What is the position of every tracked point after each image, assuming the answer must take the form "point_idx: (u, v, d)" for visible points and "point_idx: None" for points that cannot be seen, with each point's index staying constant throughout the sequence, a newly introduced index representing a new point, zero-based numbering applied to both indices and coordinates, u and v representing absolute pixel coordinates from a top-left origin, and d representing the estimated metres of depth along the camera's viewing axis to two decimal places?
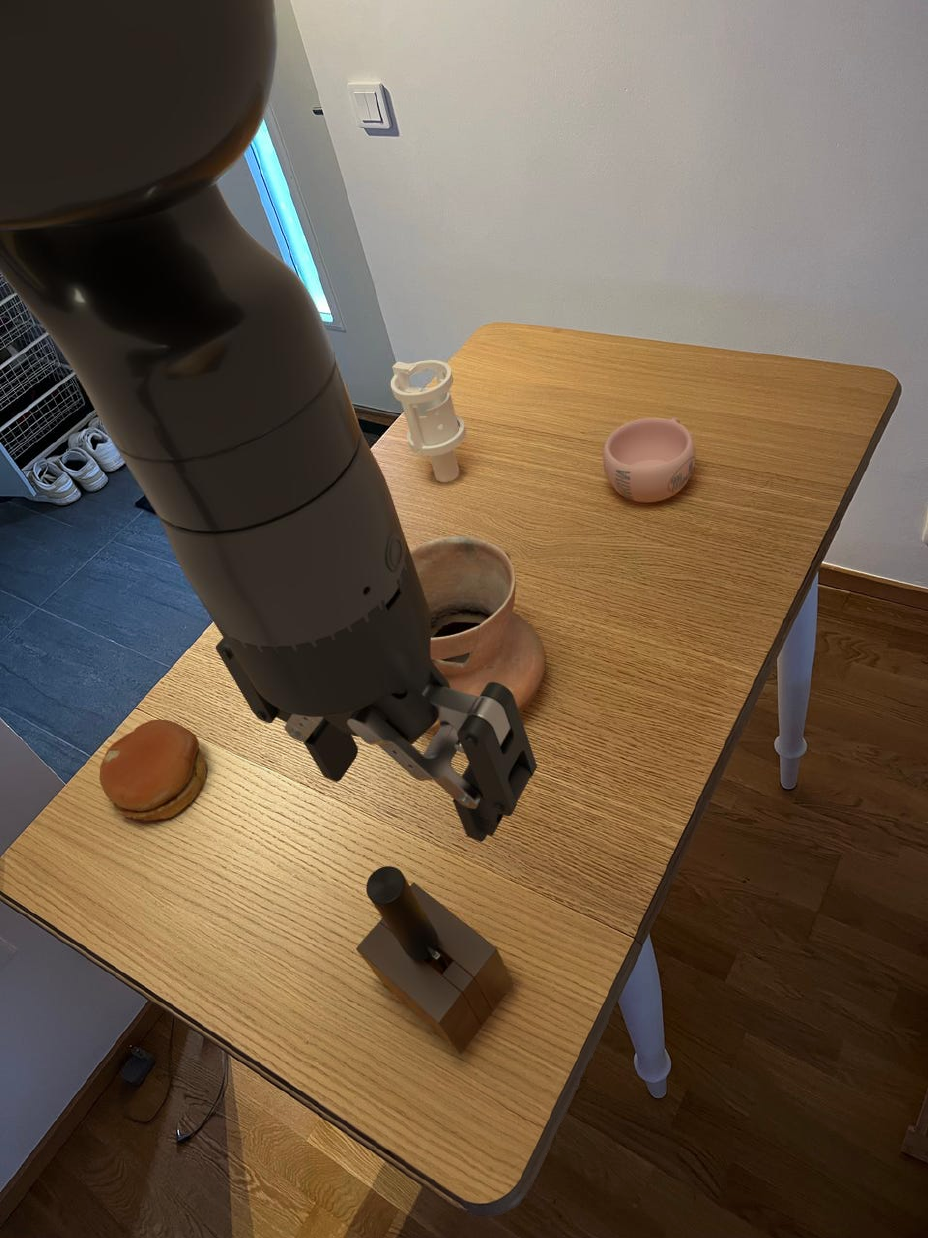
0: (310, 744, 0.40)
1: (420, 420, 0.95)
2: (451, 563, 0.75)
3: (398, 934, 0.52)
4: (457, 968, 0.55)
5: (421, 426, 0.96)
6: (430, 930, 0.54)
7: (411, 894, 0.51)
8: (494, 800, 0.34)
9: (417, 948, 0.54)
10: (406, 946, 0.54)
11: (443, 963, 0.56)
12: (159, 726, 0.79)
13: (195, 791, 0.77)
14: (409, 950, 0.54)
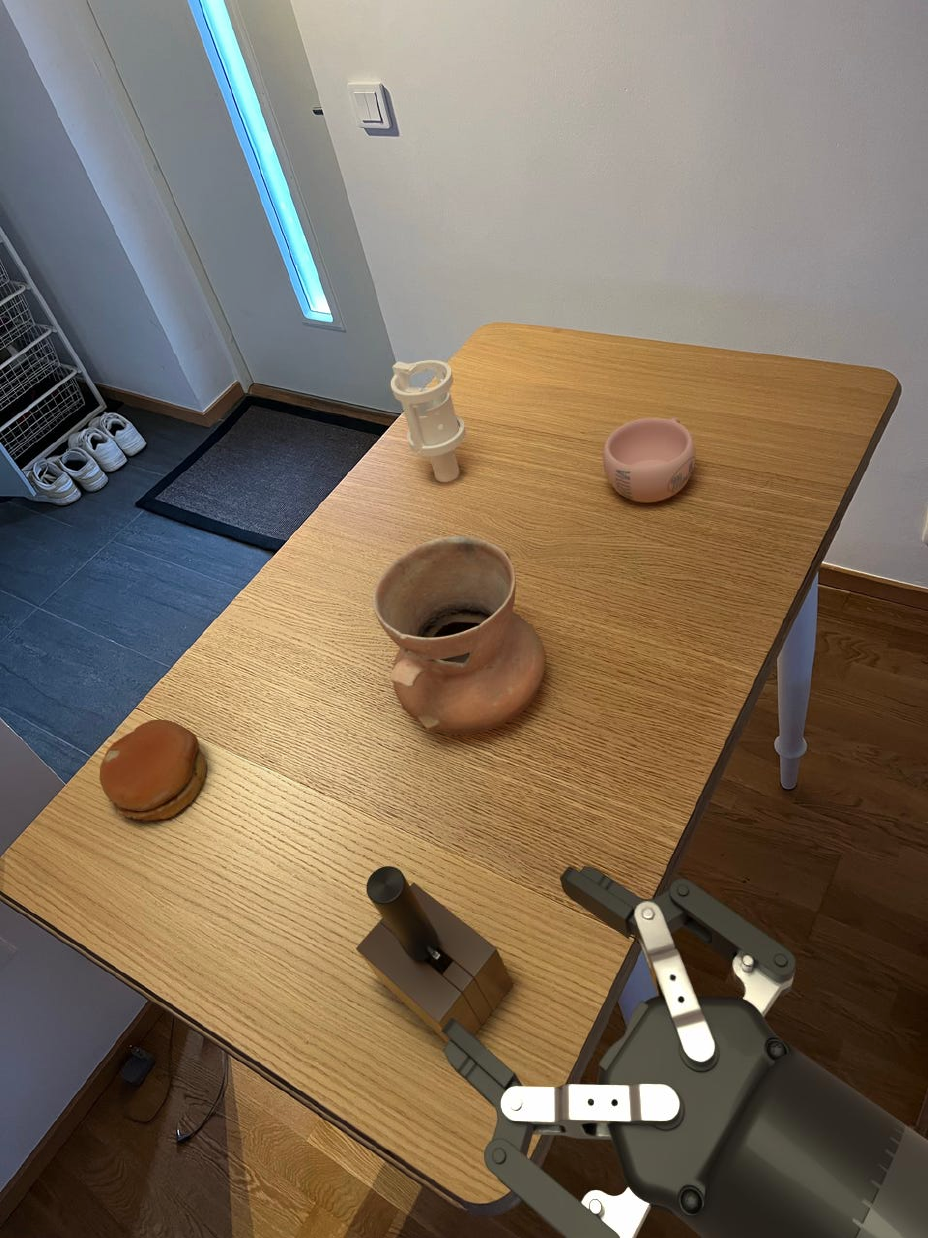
0: (626, 915, 0.37)
1: (420, 420, 0.95)
2: (451, 562, 0.75)
3: (398, 934, 0.52)
4: (457, 968, 0.55)
5: (421, 426, 0.96)
6: (430, 930, 0.54)
7: (411, 894, 0.51)
8: (511, 1163, 0.32)
9: (417, 948, 0.54)
10: (406, 946, 0.54)
11: (443, 963, 0.56)
12: (159, 726, 0.79)
13: (194, 791, 0.77)
14: (409, 950, 0.54)
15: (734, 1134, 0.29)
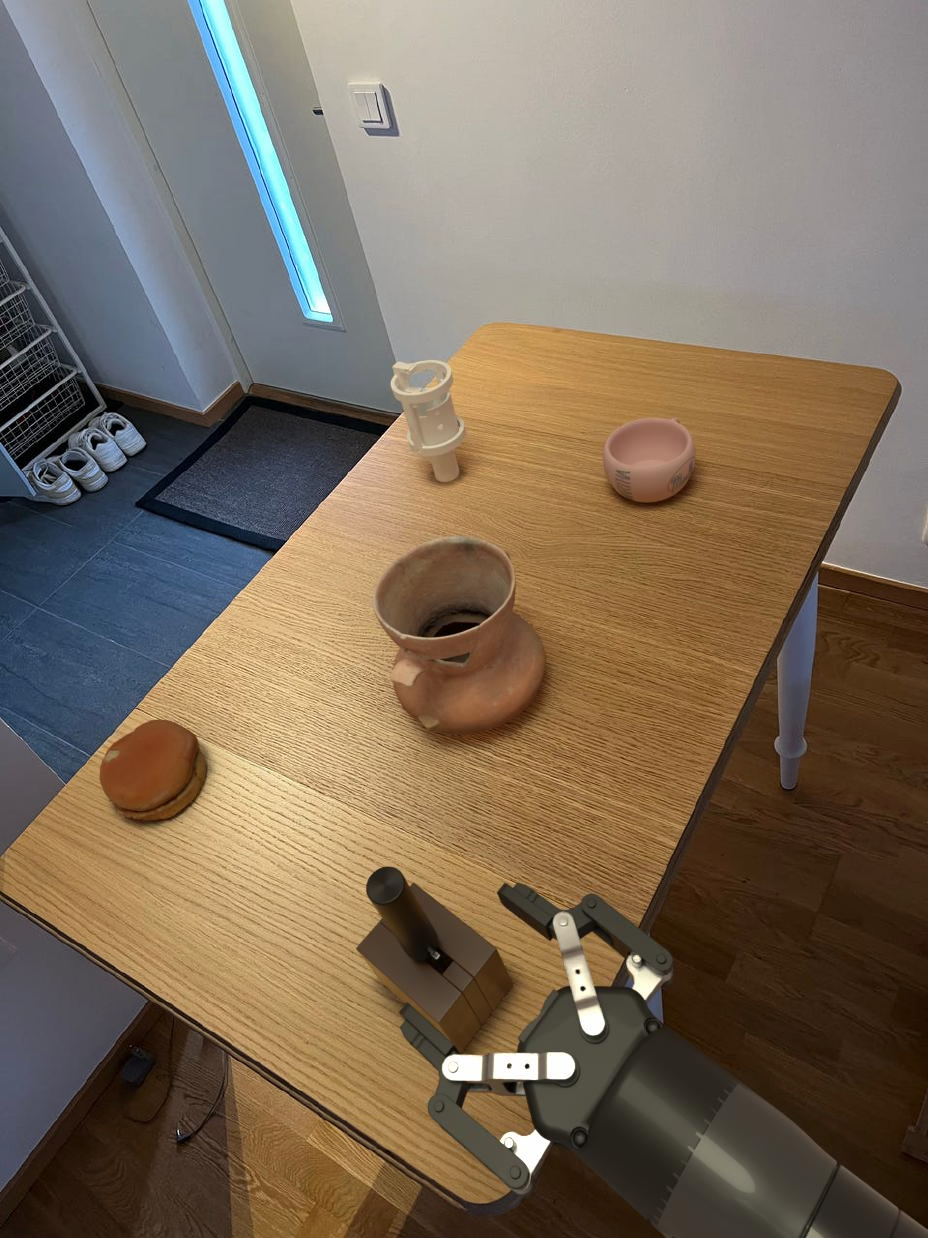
0: (547, 923, 0.47)
1: (420, 420, 0.95)
2: (451, 562, 0.75)
3: (398, 934, 0.52)
4: (457, 968, 0.55)
5: (421, 426, 0.96)
6: (430, 930, 0.54)
7: (411, 894, 0.51)
8: (447, 1111, 0.41)
9: (417, 948, 0.54)
10: (406, 946, 0.54)
11: (443, 963, 0.56)
12: (159, 726, 0.79)
13: (194, 791, 0.77)
14: (409, 950, 0.54)
15: (610, 1087, 0.39)
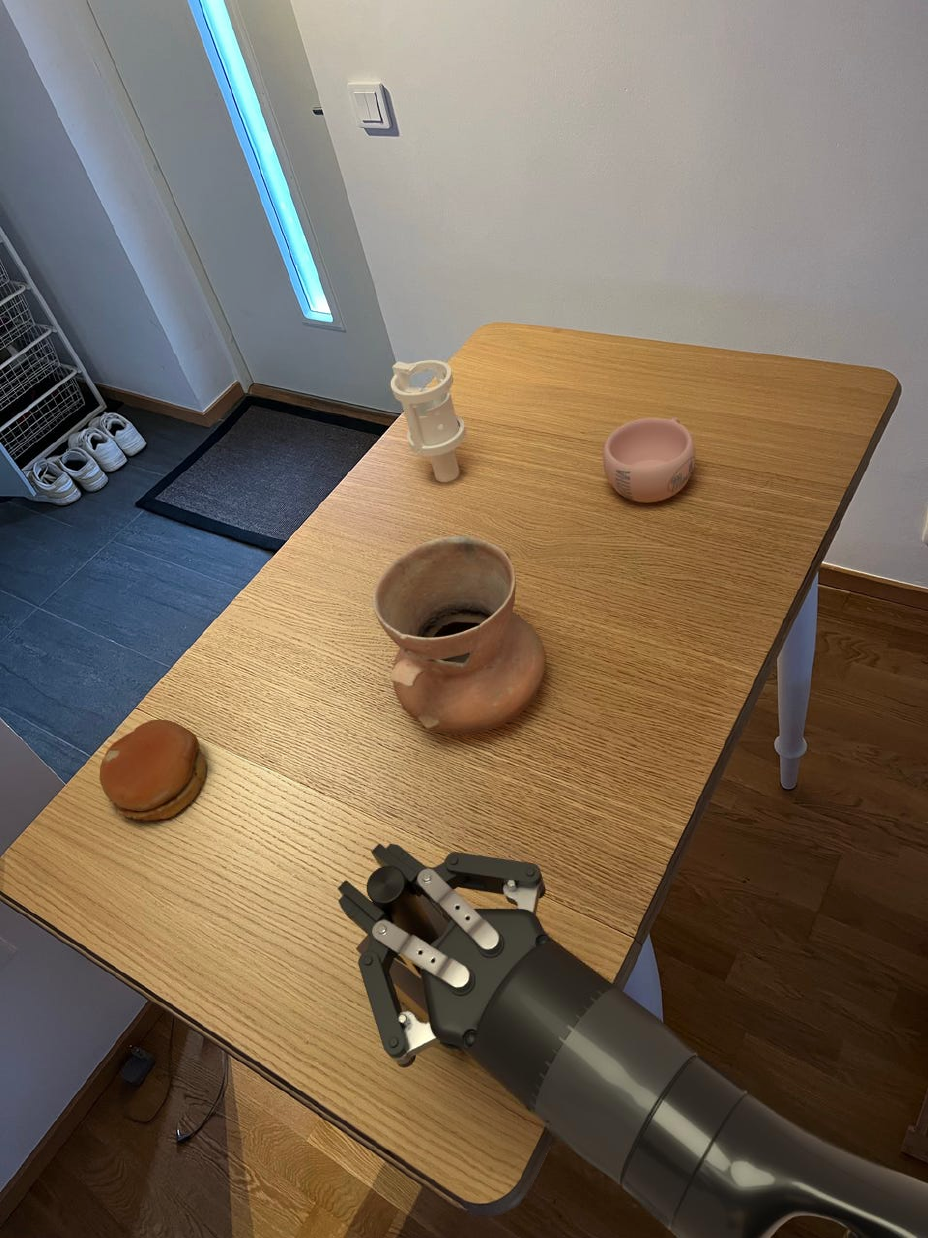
0: (412, 879, 0.50)
1: (420, 420, 0.95)
2: (451, 562, 0.75)
3: None
4: None
5: (421, 426, 0.96)
6: (430, 930, 0.54)
7: (411, 894, 0.51)
8: (375, 965, 0.47)
9: None
10: None
11: None
12: (159, 726, 0.79)
13: (194, 791, 0.77)
14: None
15: (495, 990, 0.43)
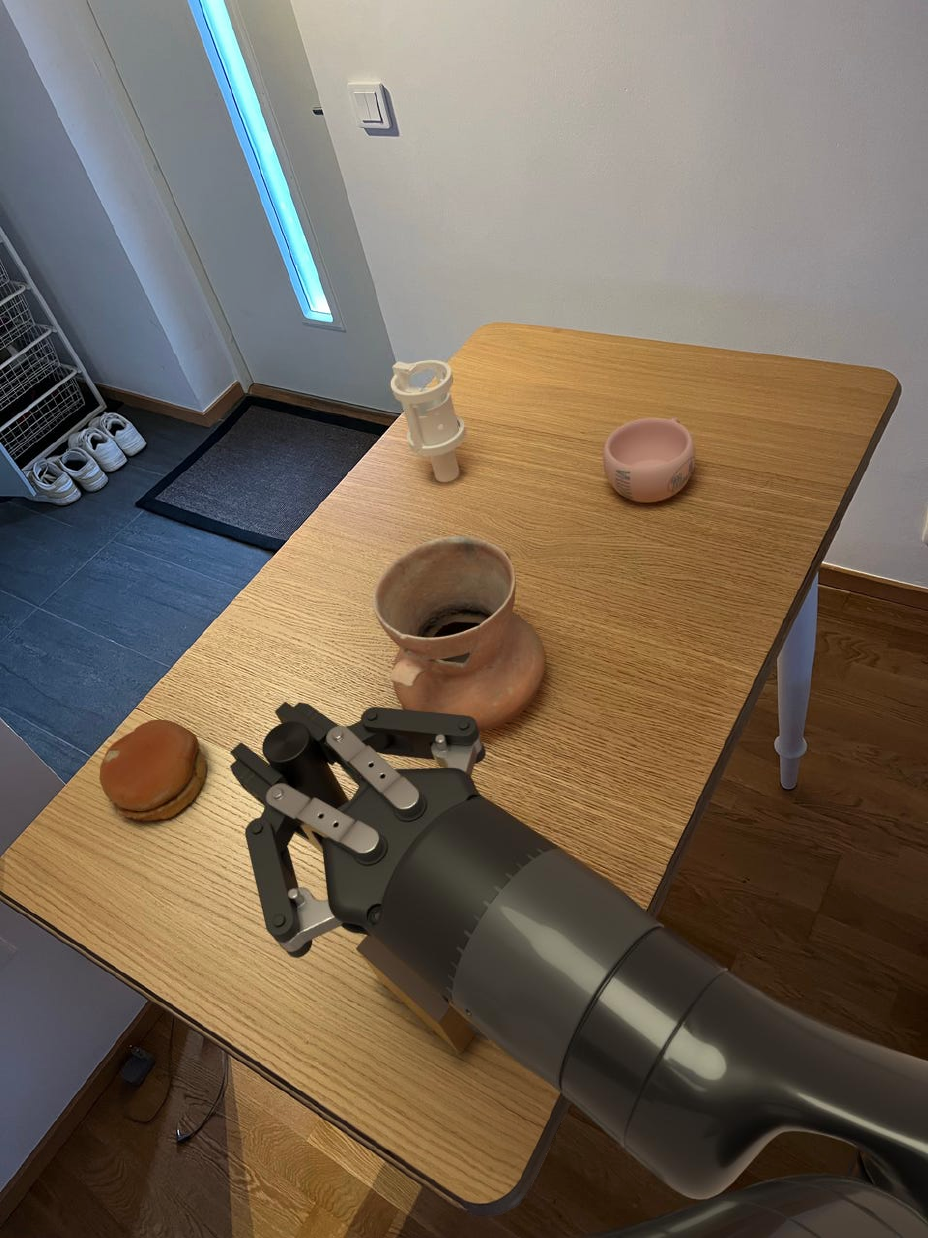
0: (320, 738, 0.41)
1: (420, 420, 0.95)
2: (451, 562, 0.75)
3: None
4: None
5: (421, 426, 0.96)
6: None
7: (320, 757, 0.41)
8: (266, 833, 0.38)
9: None
10: None
11: None
12: (159, 726, 0.79)
13: (195, 791, 0.77)
14: None
15: (406, 849, 0.33)
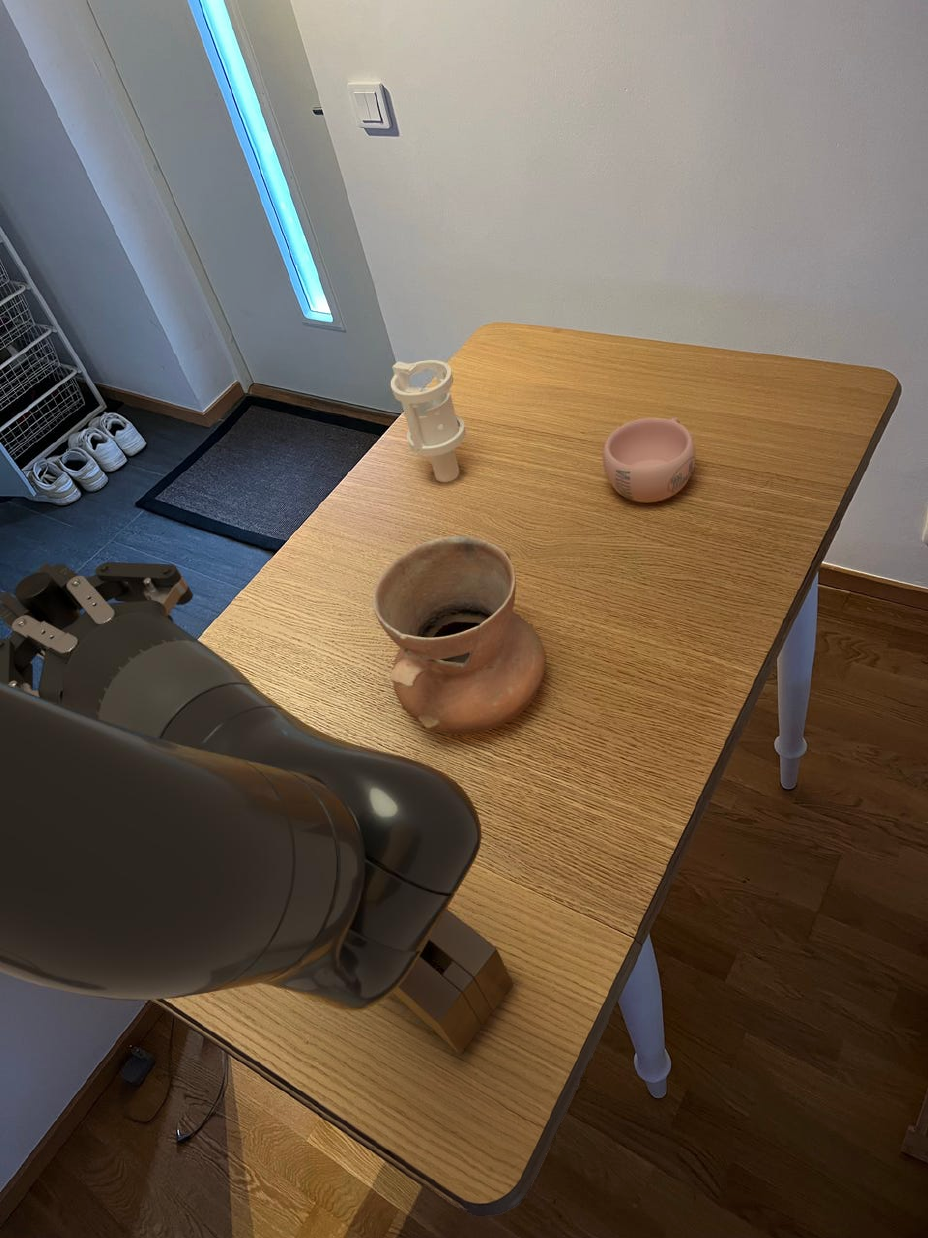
0: (63, 584, 0.53)
1: (420, 420, 0.95)
2: (451, 562, 0.75)
3: None
4: (457, 968, 0.55)
5: (421, 426, 0.96)
6: None
7: (63, 599, 0.53)
8: (5, 647, 0.49)
9: None
10: None
11: None
12: None
13: None
14: None
15: (82, 641, 0.45)
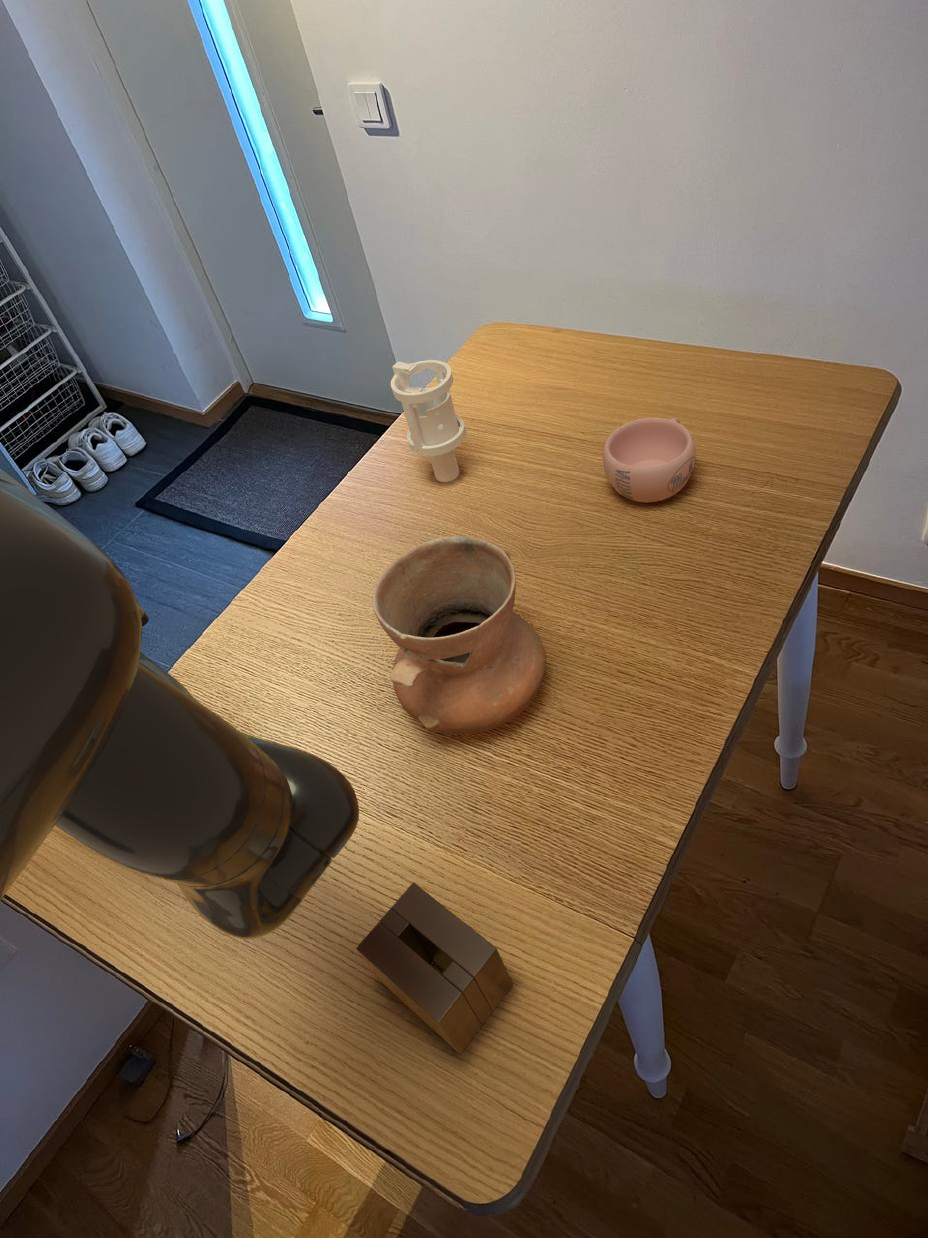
0: None
1: (420, 420, 0.95)
2: (451, 562, 0.75)
3: None
4: (457, 968, 0.55)
5: (421, 426, 0.96)
6: None
7: None
8: None
9: None
10: None
11: None
12: None
13: None
14: None
15: None
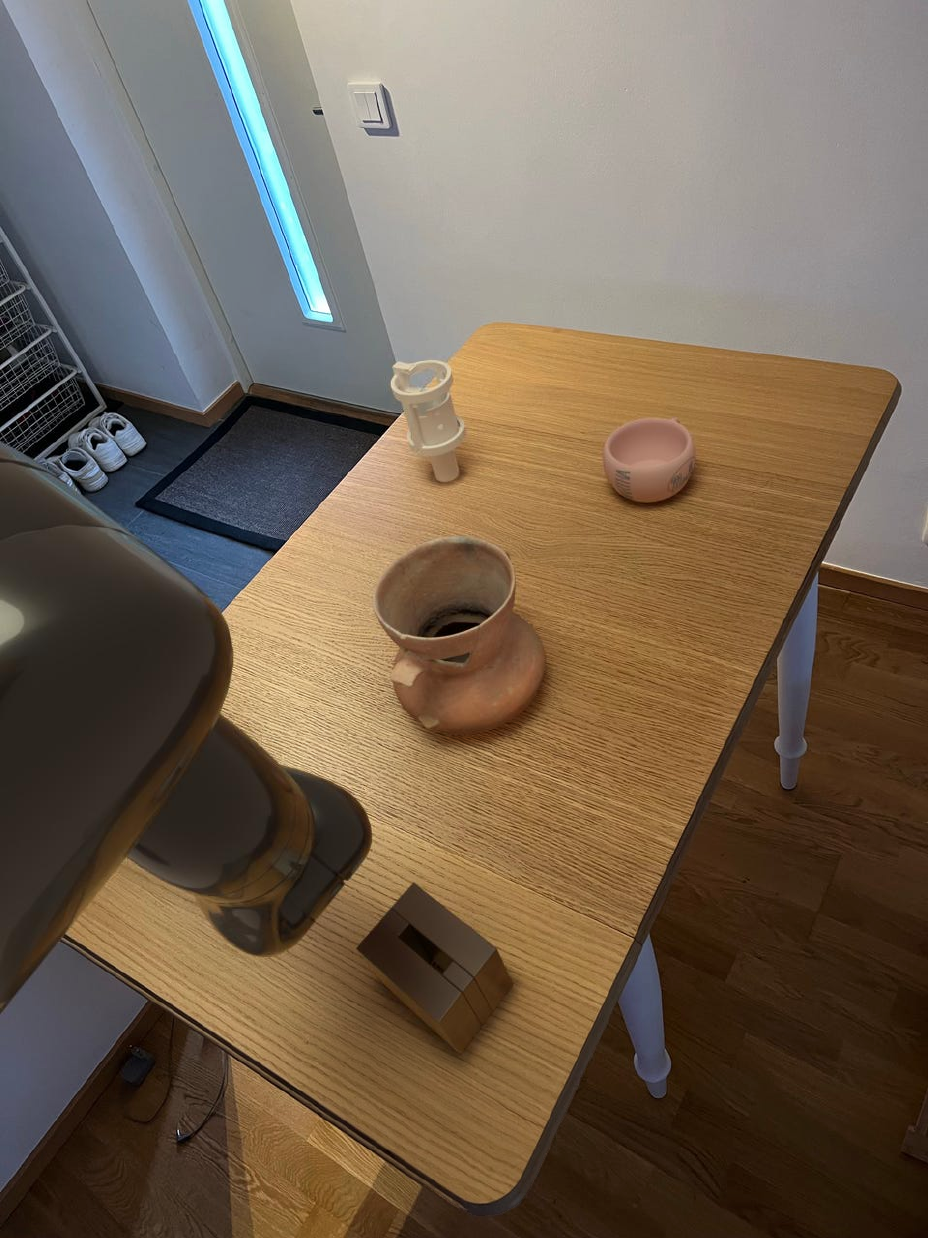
0: None
1: (420, 420, 0.95)
2: (451, 562, 0.75)
3: None
4: (457, 968, 0.55)
5: (421, 426, 0.96)
6: None
7: None
8: None
9: None
10: None
11: None
12: None
13: None
14: None
15: None
